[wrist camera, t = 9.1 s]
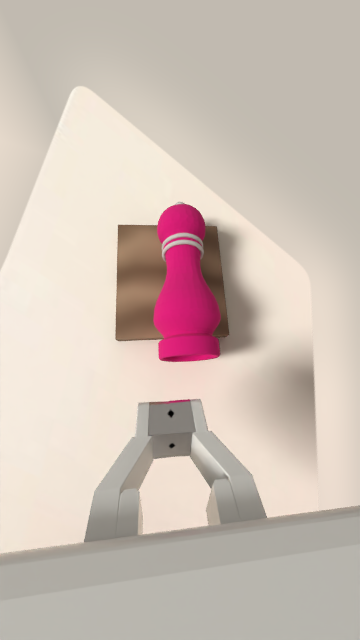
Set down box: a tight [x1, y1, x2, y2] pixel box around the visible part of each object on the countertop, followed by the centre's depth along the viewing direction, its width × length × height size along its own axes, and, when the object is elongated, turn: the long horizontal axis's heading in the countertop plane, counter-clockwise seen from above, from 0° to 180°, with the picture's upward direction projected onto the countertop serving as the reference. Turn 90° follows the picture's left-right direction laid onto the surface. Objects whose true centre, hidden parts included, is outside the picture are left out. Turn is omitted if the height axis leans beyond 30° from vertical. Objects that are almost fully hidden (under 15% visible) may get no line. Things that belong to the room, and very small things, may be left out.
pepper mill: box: [153, 202, 221, 362], centre depth 24 cm, size 7×7×20 cm
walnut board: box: [116, 225, 229, 341], centre depth 28 cm, size 16×14×2 cm
